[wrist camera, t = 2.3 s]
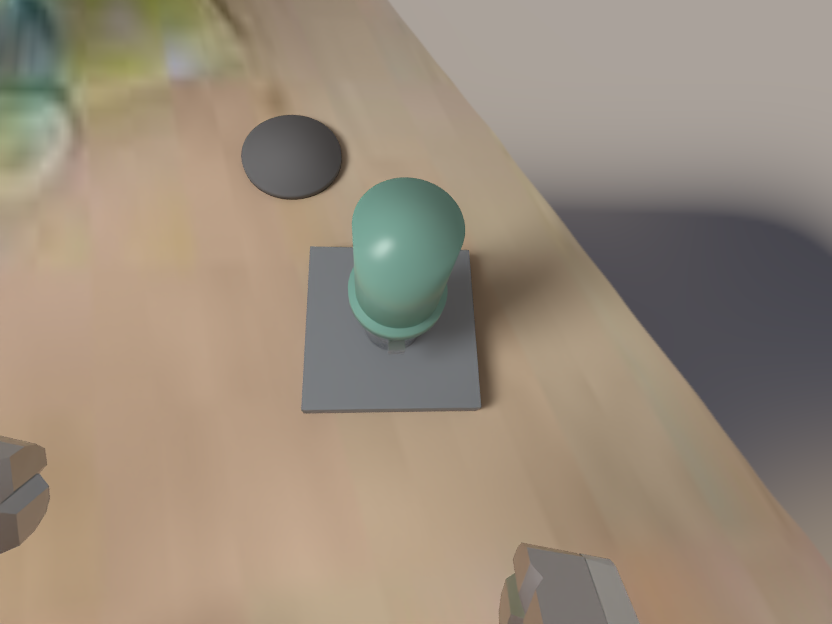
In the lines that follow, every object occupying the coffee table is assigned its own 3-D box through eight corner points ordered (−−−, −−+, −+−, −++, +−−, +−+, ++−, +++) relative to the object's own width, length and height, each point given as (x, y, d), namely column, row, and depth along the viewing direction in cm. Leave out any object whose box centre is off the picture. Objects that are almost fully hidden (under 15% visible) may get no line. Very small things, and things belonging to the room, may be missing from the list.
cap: (347, 340, 27) (341, 284, 19) (349, 250, 29) (344, 167, 21) (447, 340, 27) (478, 286, 20) (442, 252, 29) (469, 172, 22)
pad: (238, 197, 37) (236, 193, 36) (248, 117, 40) (246, 112, 39) (340, 201, 38) (339, 196, 37) (342, 122, 41) (342, 117, 40)
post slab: (304, 413, 32) (301, 410, 30) (312, 255, 36) (310, 246, 34) (476, 410, 33) (481, 407, 32) (464, 259, 37) (468, 250, 36)
